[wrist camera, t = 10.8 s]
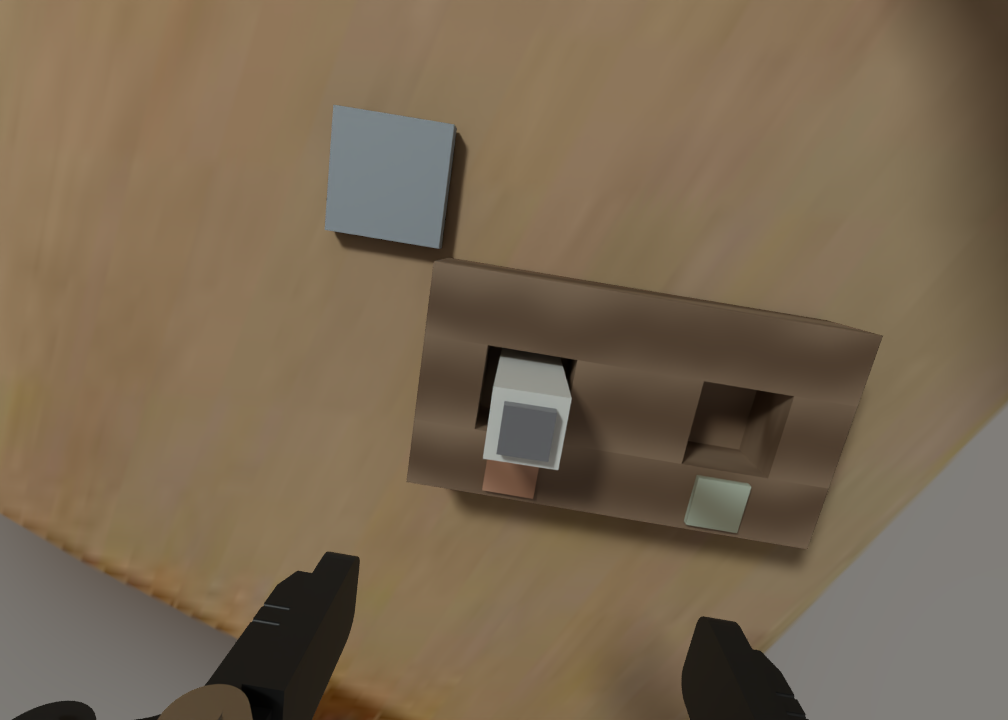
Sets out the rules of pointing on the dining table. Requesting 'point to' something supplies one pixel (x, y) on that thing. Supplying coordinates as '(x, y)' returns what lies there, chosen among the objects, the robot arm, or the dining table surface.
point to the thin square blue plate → (389, 176)
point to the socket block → (643, 401)
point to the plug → (528, 410)
